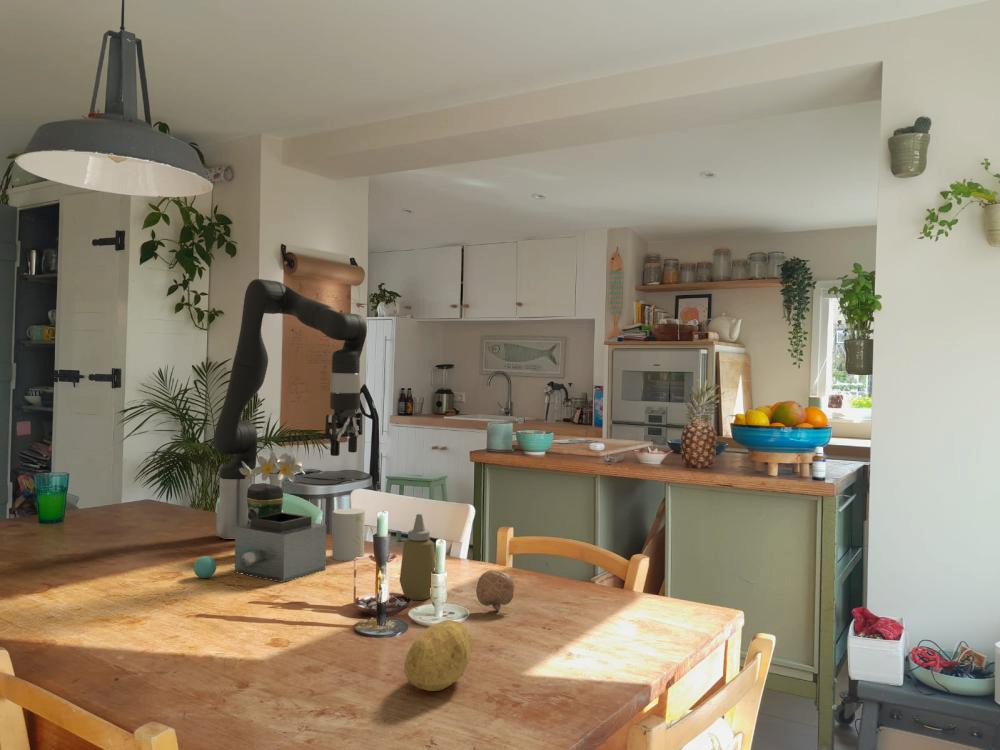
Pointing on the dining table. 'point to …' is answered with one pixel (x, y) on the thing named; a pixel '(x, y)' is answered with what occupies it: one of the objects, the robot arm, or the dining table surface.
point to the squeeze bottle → (417, 562)
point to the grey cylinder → (348, 533)
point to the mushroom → (495, 589)
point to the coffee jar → (264, 500)
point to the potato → (439, 656)
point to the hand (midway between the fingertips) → (343, 454)
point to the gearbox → (280, 547)
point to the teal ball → (205, 567)
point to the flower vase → (273, 468)
